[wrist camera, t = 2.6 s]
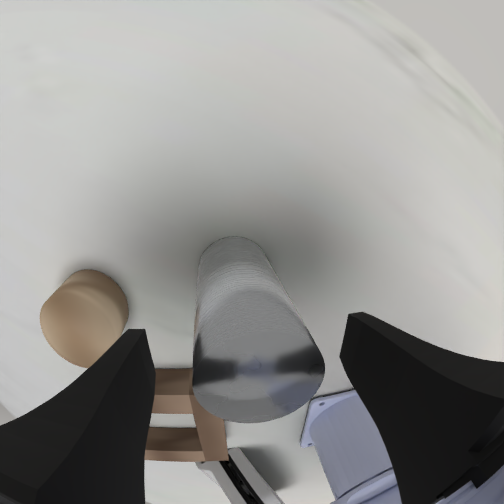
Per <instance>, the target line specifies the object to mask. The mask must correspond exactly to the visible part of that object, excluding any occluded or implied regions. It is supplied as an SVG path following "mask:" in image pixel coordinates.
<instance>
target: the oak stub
mask: <svg viewBox="0 0 504 504" xmlns="http://www.w3.org/2000/svg"><path fill="white" fill-rule="evenodd" d="M128 315H129V308H128V303H127V299H126V297H125V295H124V293H123V291H122V290H121V288H120V287H119V286H118V285H117V283H116V282H115V281H113V280H112V279H111V278H110V277H108V276H107V275H105V274H103V273H101V272H98V271H95V270H80V271H77V272H75V273H74V274H72V275H71V276H70V277H69V278H68V279H67V280H66V281H65V282H64V283H63V284H62V285H61V286H60V287H59V288H58V289H57V290H56V291H55V292H54V293H53V294H52V295H51V297H50V298H49V299H48V300H47V301H46V302H45V303H44V304H43V306H42V308H41V312H40V325H41V329H42V332H43V334H44V336H45V338H46V340H47V342H48V343H49V345H50V346H51V347H52V348H53V349H54V350H55V351H56V353H58V354H59V355H60V356H61V357H62V358H64V359H65V360H67V361H68V362H70V363H72V364H75V365H77V366H80V367H85V368H89V367H90V366H92V365H93V364H94V363H95V362H96V361H97V360H98V359H99V358H100V357H101V356H102V355H103V354H104V353H105V352H106V351H107V350H108V349H109V348H110V347H111V346H112V345H113V344H114V343H115V342H116V341H117V340H118V339H119V338H120V337H121V334H122V332H123V329H124V327H125V325H126V322H127V319H128Z"/></svg>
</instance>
